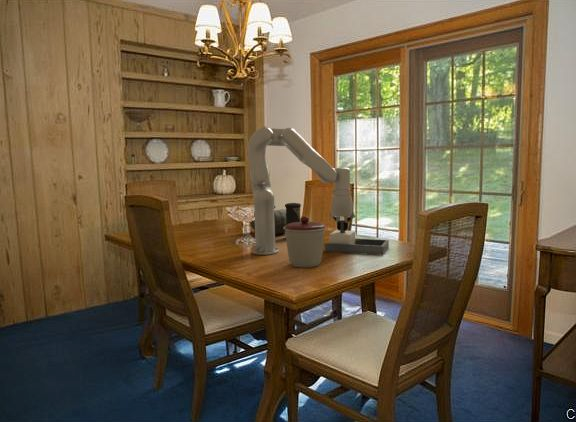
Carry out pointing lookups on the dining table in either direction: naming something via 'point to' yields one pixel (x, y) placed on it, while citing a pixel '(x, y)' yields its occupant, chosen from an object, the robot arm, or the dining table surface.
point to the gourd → (277, 221)
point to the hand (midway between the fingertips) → (342, 229)
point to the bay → (360, 246)
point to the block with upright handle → (342, 235)
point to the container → (292, 212)
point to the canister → (305, 242)
